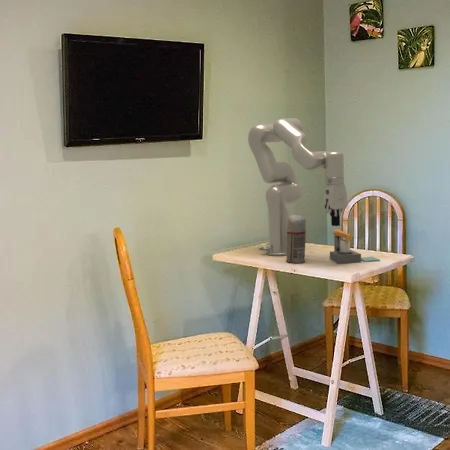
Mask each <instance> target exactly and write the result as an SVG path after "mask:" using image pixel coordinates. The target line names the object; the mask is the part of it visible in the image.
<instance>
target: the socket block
mask: <svg viewBox="0 0 450 450" xmlns="http://www.w3.org/2000/svg"><path fill="white" fill-rule="evenodd" d="M350 250H351V253H350V254H340V253H339V251H334V250H332V251H329V260H330V261H332V262H334V263H336V264H338V265H344V264H353V263H354V264H355V263H362V261H361V257H362V254H361V253H359V252H357V251H354V250H352V249H350Z"/></svg>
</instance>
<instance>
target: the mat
mask: <svg viewBox="0 0 450 450" xmlns="http://www.w3.org/2000/svg"><path fill="white" fill-rule="evenodd" d="M380 261H381V259H379V258H377V257H375V256H365V257H364V256H363V257H362V256H361V262H363V263H372V262H380Z"/></svg>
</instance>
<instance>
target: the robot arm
mask: <svg viewBox="0 0 450 450" xmlns="http://www.w3.org/2000/svg"><path fill="white" fill-rule="evenodd" d="M247 135H248V137H247V141H248V146H249V148H250V151H251V153H252V155H253V157H254V158H255V162H256V164H257V167H258V169H259V172H260V176H261V178H262V180H263V181H264V182H265V183H266V184H273V185H271V186H270V187H268V188H267V189H266V191H265V199H266V200H265V201H266V204H267V214H268V243H266V244H265V245H259V246H258V250H259V251H265V254H266V255H269V256H275V257H279V256H280V257H281V256H283V257H284V256H287V255H286V248H287V246H286V245H287V244H286V243H287V223H288V217H289V216H290V211H289V210H288V208H287V205H292V204H297V203H298V202H299V201H300V200H301V198H302V190H301V186H300V184H299V181H298V178H297V176H296V173H295V171H294V168H293V167H292V165H291V164H290V163H289V162H287V161H277V159H276V157H275V154H274V152H273V150H272V149H271V148H270V147H269V146H268V145H267V144H266V143H278V142H283V143H284V144H286V146H288V148H290V149H291V153H292V157H293V158H294V161H295V162H296V163H298V164H299V165H300V166H301V167H303V168H304V169H305V170H307V171H316V170H324V172H325V173H324V175H325V186H324V197H323V203H324V204H323V206H324V209H325V213H328V214H329V216H330V217H331V218H330V219H331V224H330V225H331V227H339V226H341V215H342V212H343V211H345V209H346V208H347V207H348V195H347V194H348V193H347V186H346V184H345V177H344V175H345V172H344V171H345V170H344V168H345V166H344V163H345V162H344V153H343V152H342V151H326V150H324V151H323V150H322V151H320V150H319V151H310V150H308V149H307V148H306V147H305V145H306V144H307V139H308V138H307V134H305V133H304V125H303V123H302V122H301V120H300V119H298V118H295V117H287V118H285V117H283V118H278V119H277V120H275V121H274V122H273V123H259V124H258V123H257V124H255V125H253V126H252V127H251V128H250V130H249V131H248V134H247ZM279 183H280V184H279Z"/></svg>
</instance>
